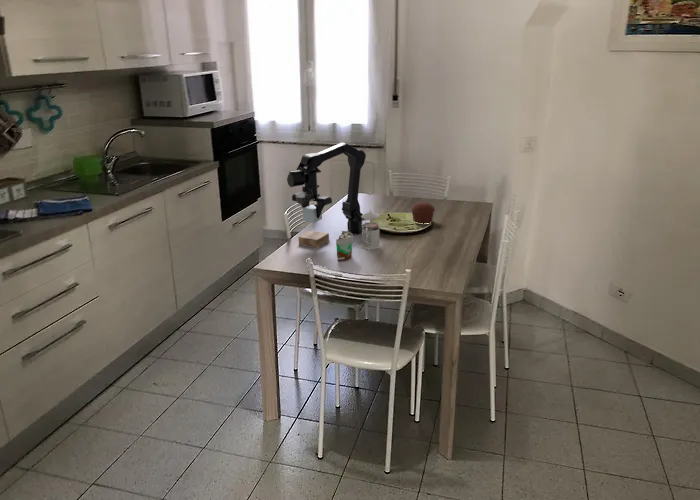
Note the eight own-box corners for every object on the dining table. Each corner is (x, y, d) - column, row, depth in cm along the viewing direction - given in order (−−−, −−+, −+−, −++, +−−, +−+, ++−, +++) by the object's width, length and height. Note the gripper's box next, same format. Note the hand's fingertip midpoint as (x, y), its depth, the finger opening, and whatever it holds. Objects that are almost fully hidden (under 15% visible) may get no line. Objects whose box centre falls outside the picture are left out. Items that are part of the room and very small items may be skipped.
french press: (366, 250, 253) (365, 195, 244) (354, 243, 263) (352, 189, 254) (386, 246, 257) (385, 191, 249) (373, 239, 267) (372, 186, 258)
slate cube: (322, 219, 262) (321, 206, 260) (313, 222, 258) (313, 209, 256) (311, 217, 266) (310, 204, 264) (303, 220, 261) (302, 207, 259)
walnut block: (329, 241, 267) (328, 233, 266) (317, 248, 259) (317, 239, 258) (310, 238, 272) (310, 230, 271) (299, 245, 264) (298, 237, 262)
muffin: (408, 224, 286) (408, 205, 283) (414, 218, 296) (414, 199, 292) (431, 226, 282) (432, 206, 278) (437, 220, 291) (437, 200, 288)
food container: (351, 263, 240) (350, 240, 237) (336, 262, 241) (335, 239, 238) (356, 252, 251) (356, 230, 248) (343, 252, 253) (342, 230, 249)
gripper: (282, 184, 255) (285, 218, 260) (316, 189, 245) (317, 225, 250) (298, 179, 264) (301, 212, 269) (331, 184, 253) (333, 218, 259)
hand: (312, 217), depth 261 cm, fingers closed on slate cube, 6 cm apart
